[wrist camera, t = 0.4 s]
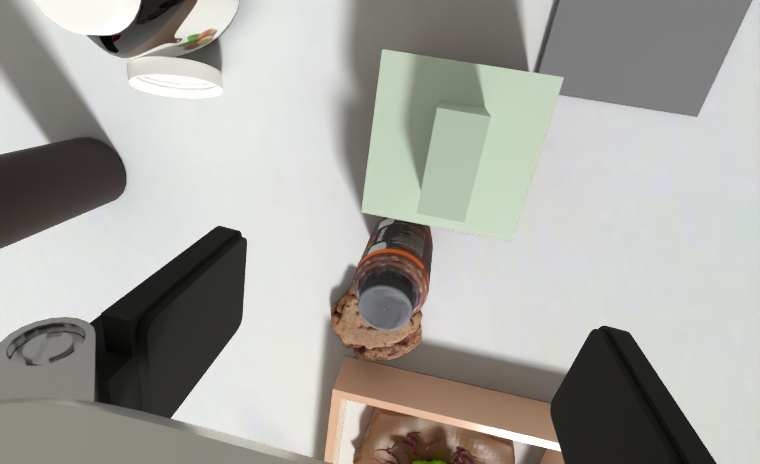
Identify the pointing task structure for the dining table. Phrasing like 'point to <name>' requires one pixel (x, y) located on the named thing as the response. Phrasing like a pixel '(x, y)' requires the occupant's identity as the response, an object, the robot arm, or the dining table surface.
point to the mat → (641, 50)
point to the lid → (455, 142)
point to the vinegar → (55, 185)
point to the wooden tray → (439, 406)
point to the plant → (428, 442)
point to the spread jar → (152, 38)
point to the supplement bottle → (393, 274)
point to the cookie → (372, 332)
